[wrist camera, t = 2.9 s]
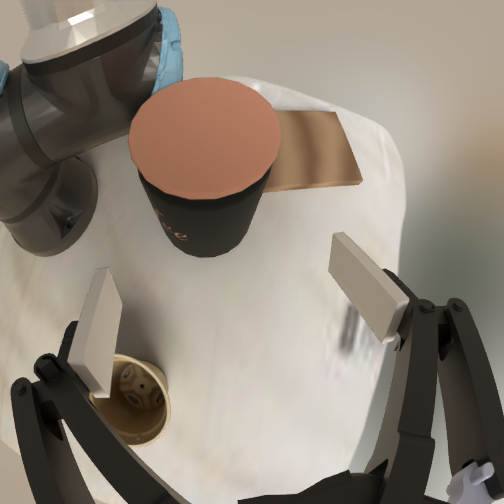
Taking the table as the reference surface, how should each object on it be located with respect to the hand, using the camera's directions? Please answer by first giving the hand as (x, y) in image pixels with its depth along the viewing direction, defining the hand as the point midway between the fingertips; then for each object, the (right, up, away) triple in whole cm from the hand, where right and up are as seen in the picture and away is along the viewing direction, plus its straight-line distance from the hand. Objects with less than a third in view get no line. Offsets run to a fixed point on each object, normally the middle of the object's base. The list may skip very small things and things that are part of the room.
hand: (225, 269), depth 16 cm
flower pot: (-11, -15, +13) cm, 23 cm away
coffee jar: (-4, +5, +19) cm, 20 cm away
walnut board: (+9, +16, +24) cm, 30 cm away
